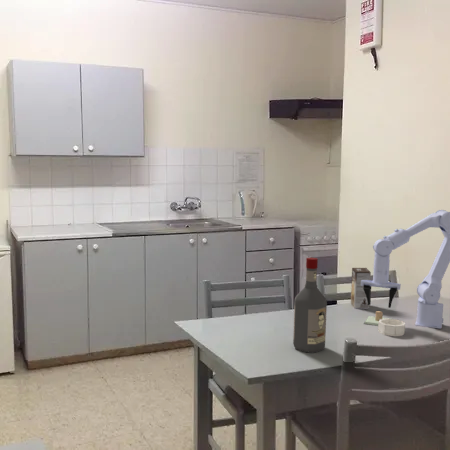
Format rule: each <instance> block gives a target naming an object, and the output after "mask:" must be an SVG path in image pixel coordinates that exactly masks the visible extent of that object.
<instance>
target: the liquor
mask: <svg viewBox="0 0 450 450" xmlns="http://www.w3.org/2000/svg"><path fill="white" fill-rule="evenodd" d="M318 260H319V258H317V257H306V259H305V261H306V263H305V268H306V274H305V275H306V276H305V285H304V287H303V288H302V289H301V290H300V291H299V292H298V293H297V294H296V295H295V298H294V303H293V304H294V307H293V309H294V311H293V336H292V337H293V340H292V344H293V347H294V349H295V350H298V351H302V352H304V353H317V352H321V351H323V350H324V349H325V348H326V333H327V332H326V331H327V311H328V310H327V307H328V302H327V299H326V297H325V295H324V294H323V293H322V292H321V290H319V288H318V282H317V281H318V280H317V279H318V277H317V276H318V275H317V273H318V266H319V264H318Z"/></svg>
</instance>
